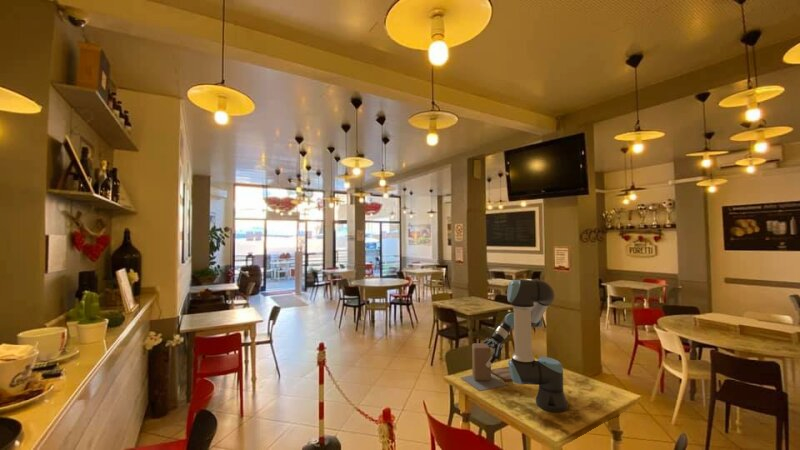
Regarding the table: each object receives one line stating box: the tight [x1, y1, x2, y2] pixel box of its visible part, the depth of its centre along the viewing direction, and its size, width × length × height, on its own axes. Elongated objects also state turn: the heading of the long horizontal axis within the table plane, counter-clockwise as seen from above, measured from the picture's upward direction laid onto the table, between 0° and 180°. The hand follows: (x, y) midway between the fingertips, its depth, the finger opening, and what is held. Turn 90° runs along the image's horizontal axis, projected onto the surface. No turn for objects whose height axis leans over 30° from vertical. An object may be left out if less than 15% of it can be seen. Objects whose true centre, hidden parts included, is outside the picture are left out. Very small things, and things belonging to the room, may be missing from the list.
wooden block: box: [471, 342, 492, 381], centre depth 209 cm, size 10×10×20 cm
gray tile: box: [460, 374, 508, 392], centre depth 205 cm, size 20×20×1 cm
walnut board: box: [491, 366, 513, 383], centre depth 214 cm, size 16×16×2 cm
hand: (480, 362), depth 209 cm, fingers open, 13 cm apart
